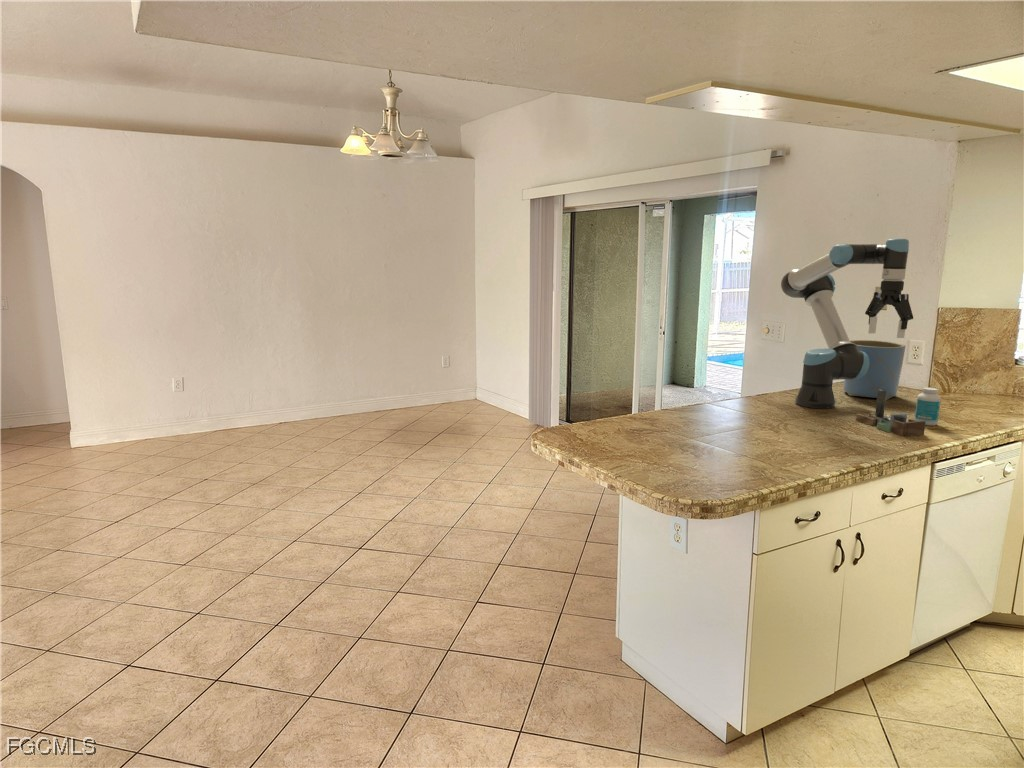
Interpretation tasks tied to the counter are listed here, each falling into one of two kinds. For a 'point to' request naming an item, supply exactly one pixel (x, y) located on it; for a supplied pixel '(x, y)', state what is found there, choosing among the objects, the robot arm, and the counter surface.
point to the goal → (908, 427)
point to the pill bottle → (928, 406)
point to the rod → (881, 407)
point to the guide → (866, 418)
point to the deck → (885, 426)
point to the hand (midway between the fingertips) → (885, 335)
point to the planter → (878, 369)
